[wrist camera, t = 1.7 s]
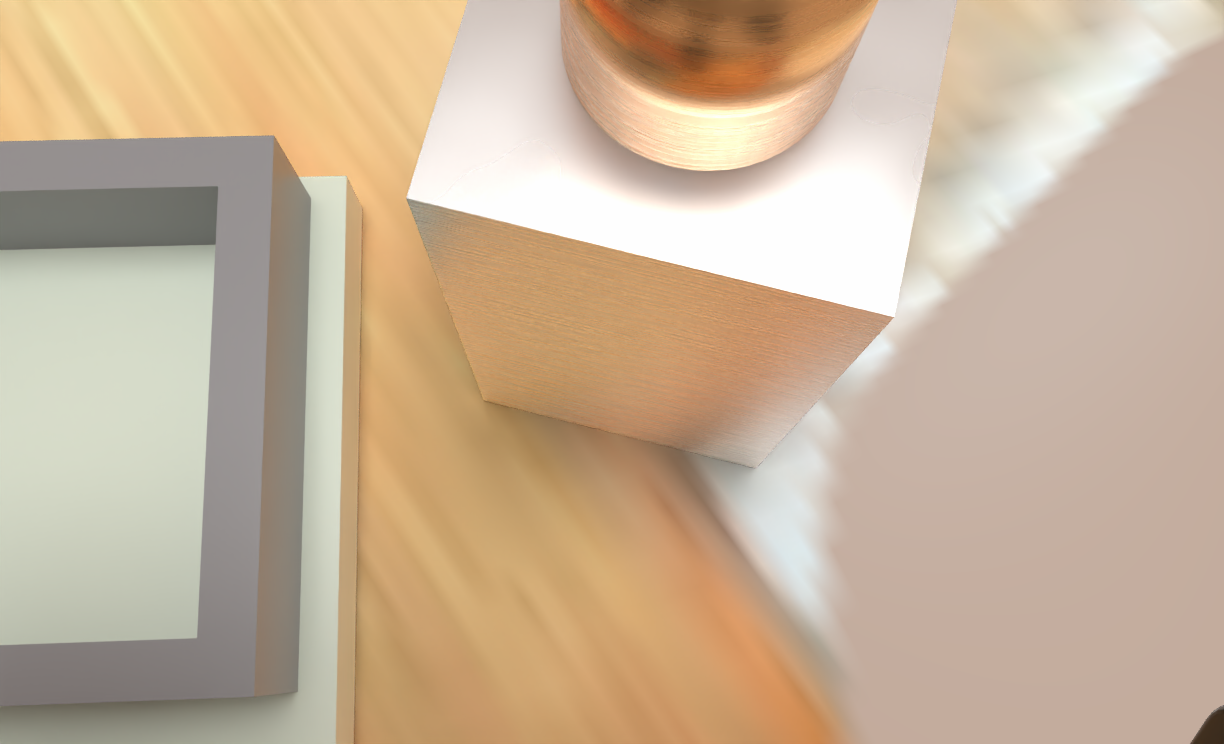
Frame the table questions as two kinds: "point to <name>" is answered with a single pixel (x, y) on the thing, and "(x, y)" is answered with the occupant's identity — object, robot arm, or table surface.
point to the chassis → (177, 444)
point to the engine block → (677, 204)
